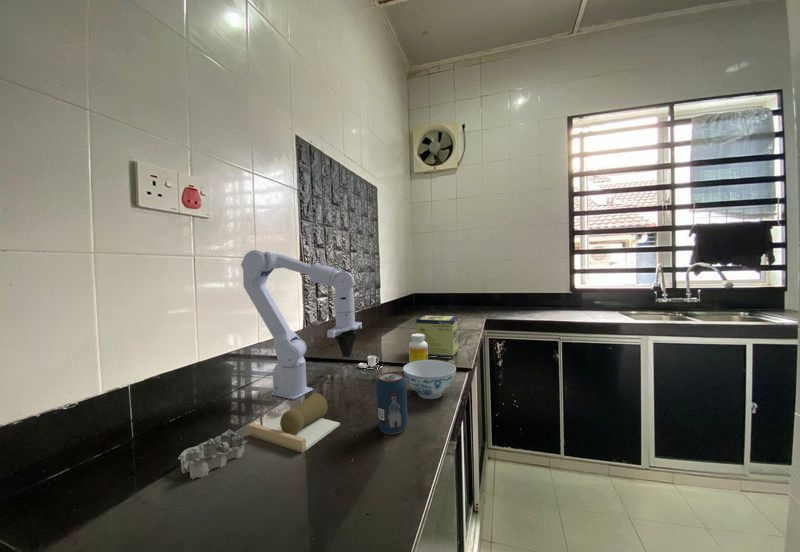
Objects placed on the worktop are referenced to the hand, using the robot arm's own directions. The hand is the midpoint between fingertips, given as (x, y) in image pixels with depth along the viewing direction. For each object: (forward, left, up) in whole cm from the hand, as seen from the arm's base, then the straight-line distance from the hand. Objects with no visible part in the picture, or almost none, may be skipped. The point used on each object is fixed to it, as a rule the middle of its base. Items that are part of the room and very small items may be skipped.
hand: (346, 356), depth 94 cm
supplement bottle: (+13, +24, -11) cm, 29 cm away
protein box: (+12, +46, -11) cm, 49 cm away
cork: (+3, -17, -7) cm, 19 cm away
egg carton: (-3, -39, -11) cm, 41 cm away
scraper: (+3, -24, -10) cm, 26 cm away
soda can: (+23, -14, -11) cm, 29 cm away
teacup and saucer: (-8, +23, -11) cm, 27 cm away
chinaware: (+24, +7, -11) cm, 27 cm away
